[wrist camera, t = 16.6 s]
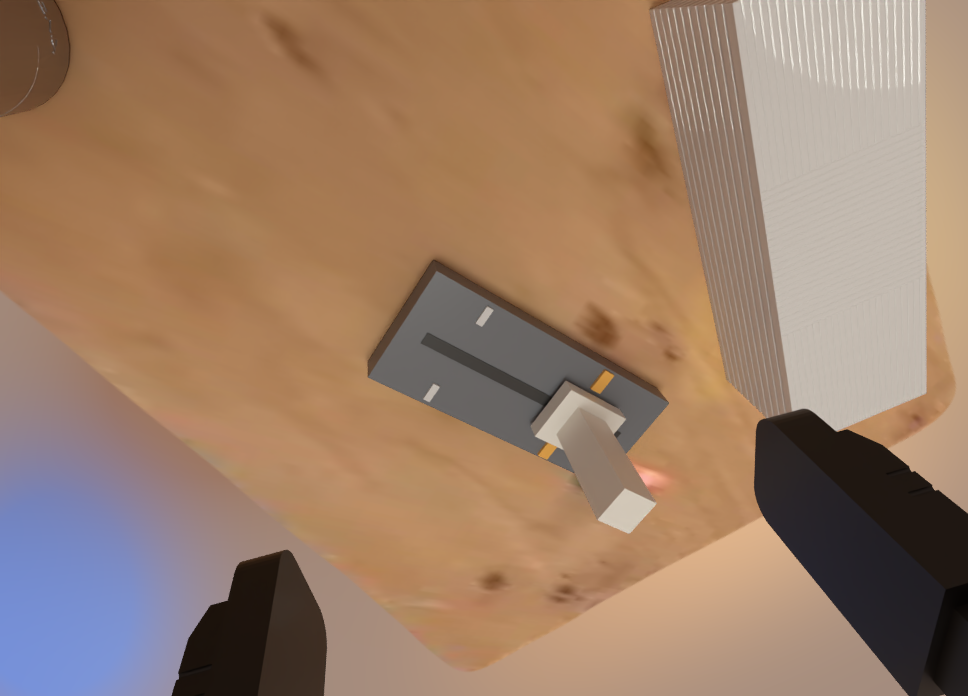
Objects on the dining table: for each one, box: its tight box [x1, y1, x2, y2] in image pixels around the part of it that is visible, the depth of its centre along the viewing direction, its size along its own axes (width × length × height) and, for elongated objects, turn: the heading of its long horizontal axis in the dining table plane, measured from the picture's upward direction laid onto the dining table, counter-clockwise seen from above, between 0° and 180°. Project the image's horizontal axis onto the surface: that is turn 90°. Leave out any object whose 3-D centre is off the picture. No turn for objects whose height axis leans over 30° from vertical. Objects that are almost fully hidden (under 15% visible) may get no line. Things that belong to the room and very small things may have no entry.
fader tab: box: [531, 381, 657, 534], centre depth 46 cm, size 6×5×12 cm
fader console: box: [368, 260, 669, 473], centre depth 51 cm, size 24×10×3 cm, turn 56°
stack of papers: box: [649, 0, 926, 431], centre depth 44 cm, size 32×11×11 cm, turn 22°
